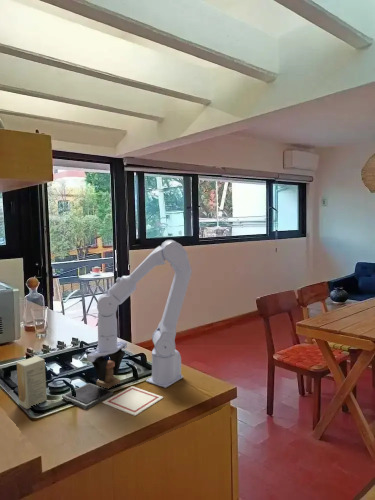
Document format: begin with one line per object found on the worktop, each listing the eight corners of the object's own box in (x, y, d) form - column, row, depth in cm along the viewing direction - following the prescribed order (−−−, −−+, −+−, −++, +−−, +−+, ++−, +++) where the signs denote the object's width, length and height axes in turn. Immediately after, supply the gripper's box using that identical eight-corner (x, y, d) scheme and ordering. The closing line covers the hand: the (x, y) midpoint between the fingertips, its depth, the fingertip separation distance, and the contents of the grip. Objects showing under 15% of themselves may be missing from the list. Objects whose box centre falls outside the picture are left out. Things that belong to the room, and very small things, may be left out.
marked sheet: (132, 386, 118) (132, 385, 118) (163, 397, 111) (163, 396, 111) (102, 403, 108) (102, 401, 108) (135, 416, 101) (135, 414, 101)
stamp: (108, 380, 123) (108, 358, 122) (120, 384, 120) (119, 362, 119) (96, 385, 119) (96, 363, 118) (108, 390, 116) (107, 367, 115)
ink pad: (89, 386, 118) (89, 382, 118) (113, 395, 113) (113, 391, 113) (62, 399, 110) (62, 395, 110) (86, 409, 105) (86, 405, 104)
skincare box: (39, 396, 112) (37, 355, 111) (47, 400, 109) (46, 358, 108) (17, 404, 107) (15, 361, 106) (25, 409, 104) (23, 365, 103)
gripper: (115, 325, 126) (115, 366, 127) (79, 337, 114) (80, 382, 116) (131, 329, 122) (131, 371, 123) (96, 342, 110) (97, 388, 112)
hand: (108, 377), depth 119 cm, fingers open, 5 cm apart
